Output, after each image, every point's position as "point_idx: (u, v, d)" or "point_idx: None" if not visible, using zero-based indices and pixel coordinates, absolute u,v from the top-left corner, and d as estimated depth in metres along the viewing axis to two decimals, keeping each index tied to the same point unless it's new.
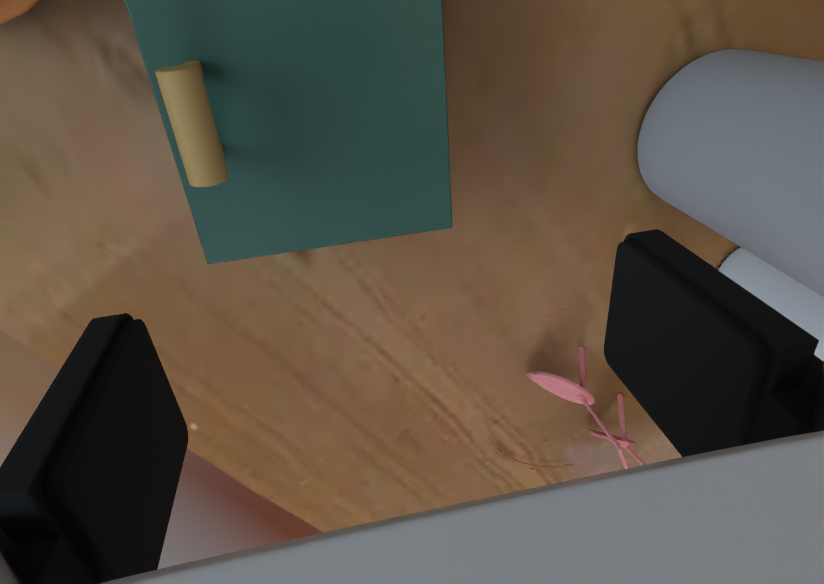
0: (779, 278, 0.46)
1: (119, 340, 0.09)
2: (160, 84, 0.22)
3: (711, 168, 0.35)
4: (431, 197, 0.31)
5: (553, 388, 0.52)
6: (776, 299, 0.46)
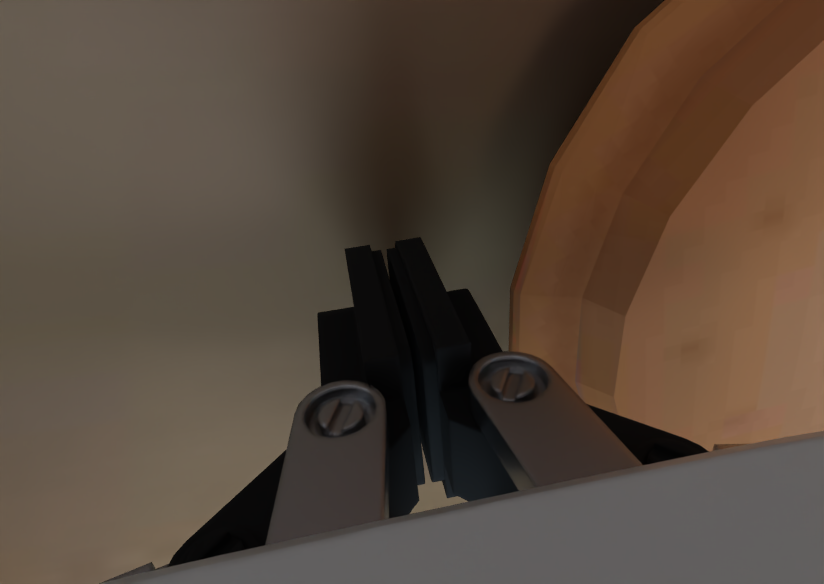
0: None
1: (378, 263, 0.10)
2: None
3: None
4: None
5: None
6: None
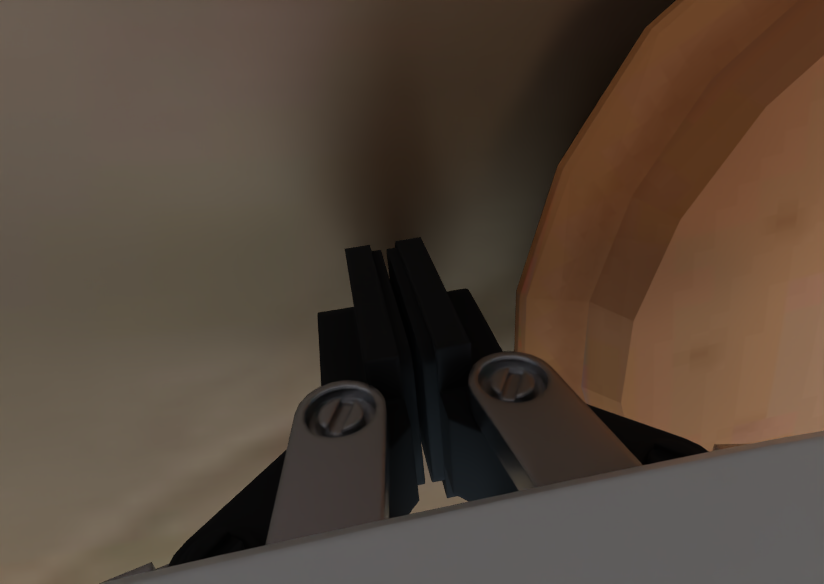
0: None
1: (378, 264, 0.10)
2: None
3: None
4: None
5: None
6: None
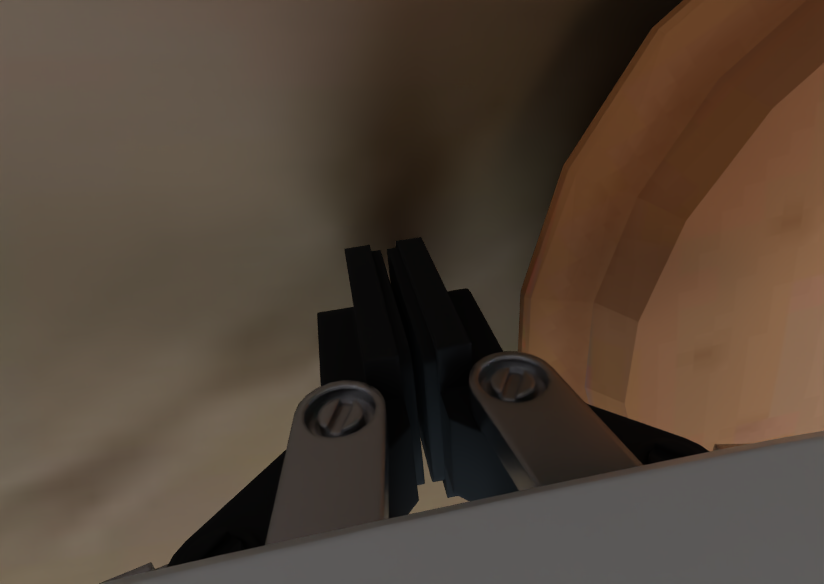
0: None
1: (378, 263, 0.10)
2: None
3: None
4: None
5: None
6: None
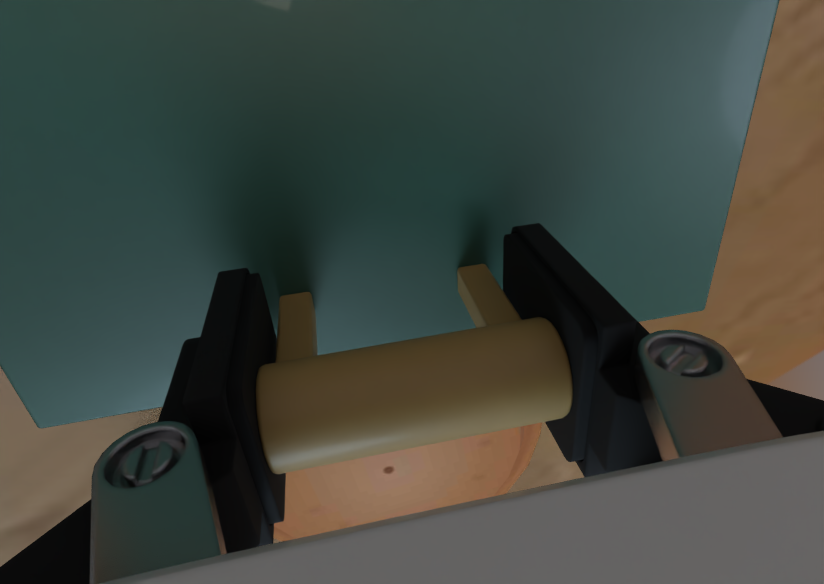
0: None
1: (248, 288, 0.10)
2: None
3: None
4: None
5: None
6: None
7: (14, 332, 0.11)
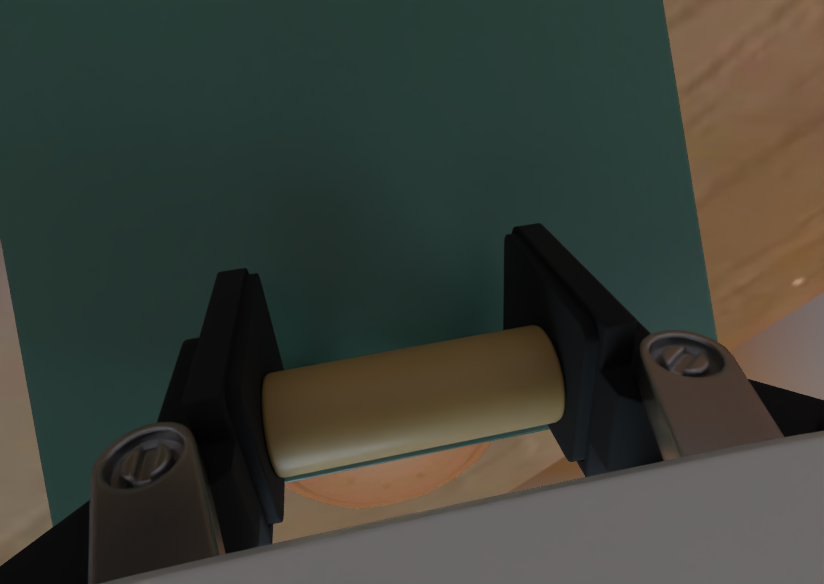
0: None
1: (247, 288, 0.10)
2: (306, 470, 0.09)
3: None
4: None
5: None
6: None
7: (61, 412, 0.12)
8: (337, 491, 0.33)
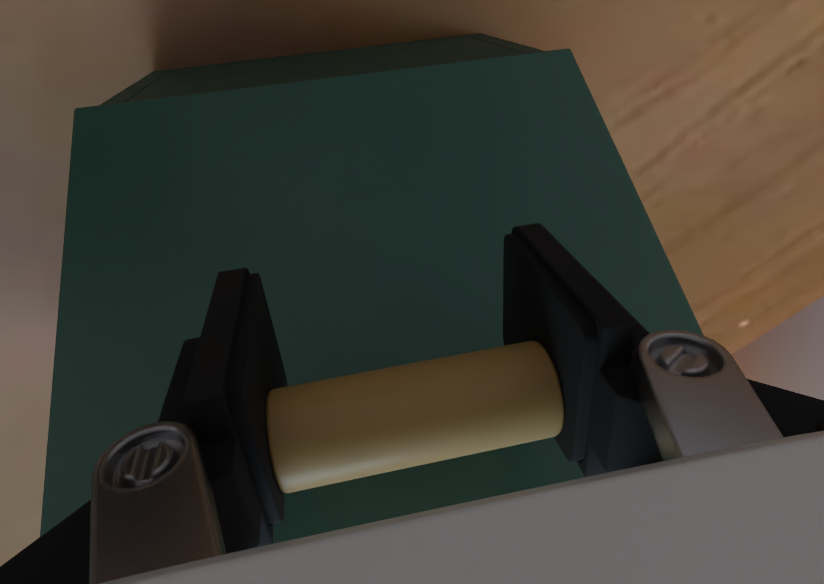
0: None
1: (248, 288, 0.10)
2: (306, 473, 0.09)
3: None
4: (521, 78, 0.18)
5: None
6: None
7: (71, 494, 0.12)
8: None
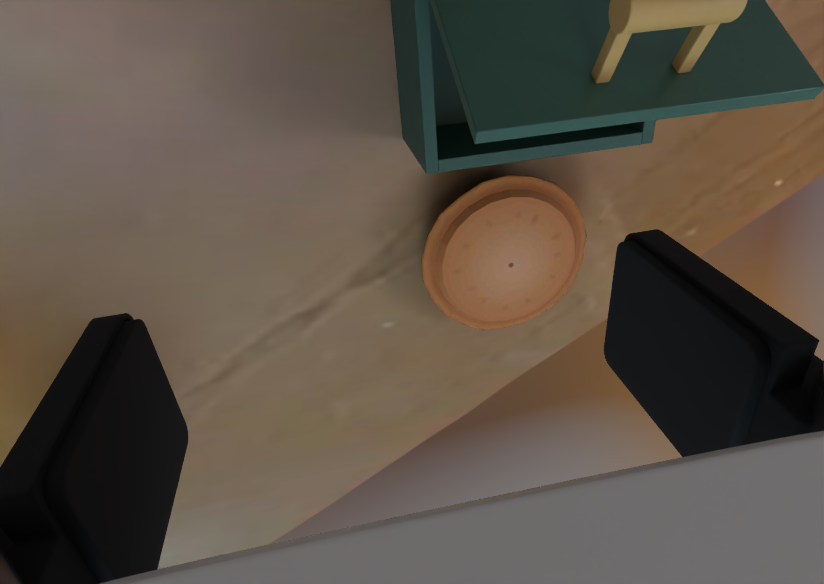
0: None
1: (119, 340, 0.09)
2: (643, 9, 0.21)
3: None
4: None
5: None
6: None
7: (476, 85, 0.24)
8: (473, 308, 0.50)
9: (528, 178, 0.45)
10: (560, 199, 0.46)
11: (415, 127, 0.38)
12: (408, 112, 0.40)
